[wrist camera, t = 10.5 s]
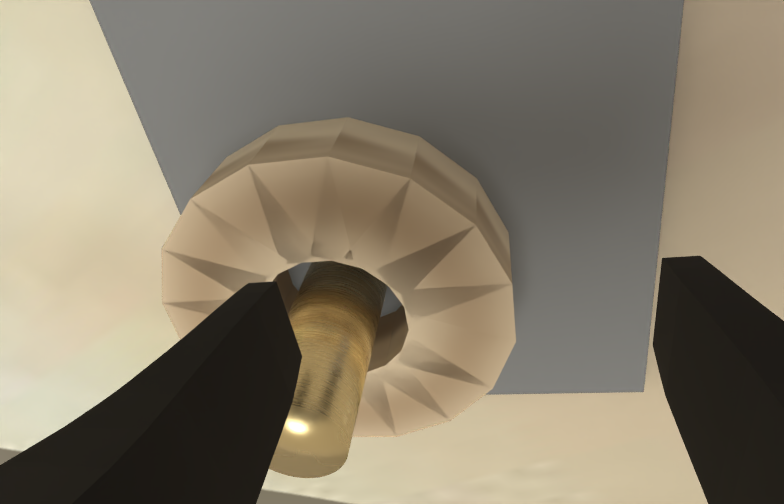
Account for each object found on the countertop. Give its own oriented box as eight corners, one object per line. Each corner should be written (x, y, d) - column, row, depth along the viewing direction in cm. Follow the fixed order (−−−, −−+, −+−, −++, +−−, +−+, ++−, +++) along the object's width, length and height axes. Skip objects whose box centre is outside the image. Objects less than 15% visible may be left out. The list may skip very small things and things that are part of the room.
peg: (382, 233, 21) (333, 404, 14) (395, 298, 22) (358, 478, 16) (304, 239, 21) (223, 405, 15) (323, 301, 23) (257, 477, 16)
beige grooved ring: (499, 99, 17) (502, 138, 15) (518, 377, 24) (522, 436, 21) (148, 140, 20) (101, 180, 17) (252, 383, 26) (228, 436, 24)
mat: (742, -673, 10) (756, -701, 9) (640, 380, 24) (643, 391, 23) (-60, -389, 13) (-80, -398, 13) (262, 388, 27) (258, 398, 27)
